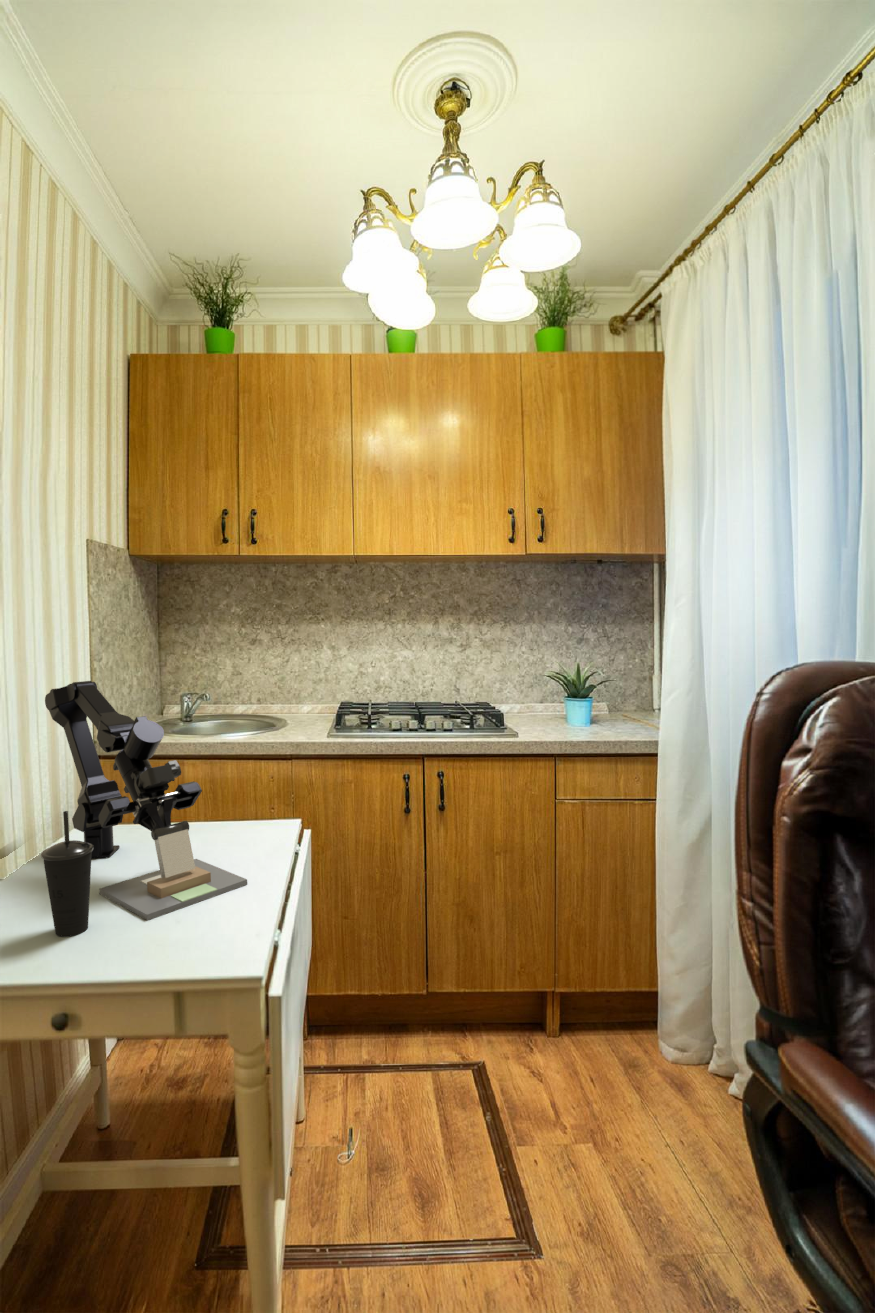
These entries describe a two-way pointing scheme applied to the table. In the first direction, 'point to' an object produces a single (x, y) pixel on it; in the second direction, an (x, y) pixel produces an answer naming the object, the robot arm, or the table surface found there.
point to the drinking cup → (68, 883)
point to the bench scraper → (173, 849)
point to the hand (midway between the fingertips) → (169, 840)
